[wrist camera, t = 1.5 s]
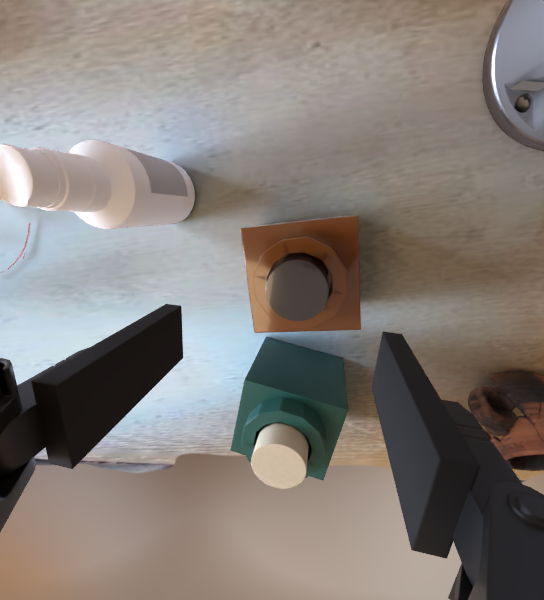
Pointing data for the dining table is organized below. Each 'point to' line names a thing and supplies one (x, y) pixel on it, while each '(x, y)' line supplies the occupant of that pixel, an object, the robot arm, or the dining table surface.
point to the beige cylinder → (280, 456)
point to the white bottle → (97, 184)
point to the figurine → (24, 247)
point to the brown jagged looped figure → (513, 417)
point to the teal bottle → (294, 400)
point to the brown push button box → (319, 246)
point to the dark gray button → (297, 288)
